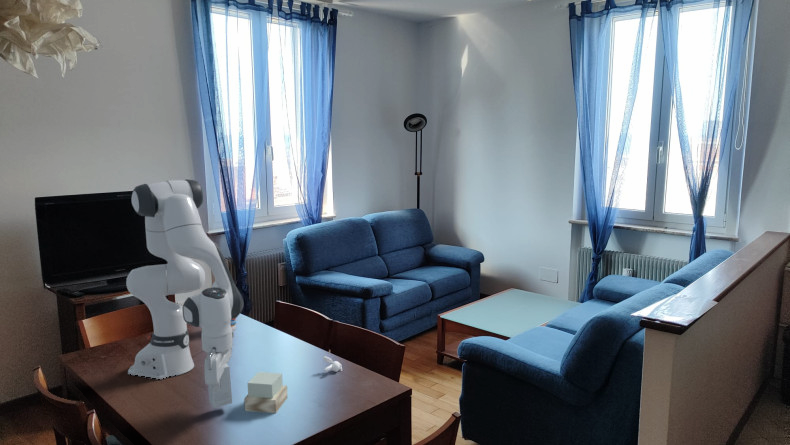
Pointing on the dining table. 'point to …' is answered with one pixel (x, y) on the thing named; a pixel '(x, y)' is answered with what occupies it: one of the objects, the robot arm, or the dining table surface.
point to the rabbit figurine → (334, 365)
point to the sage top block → (265, 385)
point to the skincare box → (221, 390)
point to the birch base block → (266, 402)
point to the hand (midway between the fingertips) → (219, 384)
